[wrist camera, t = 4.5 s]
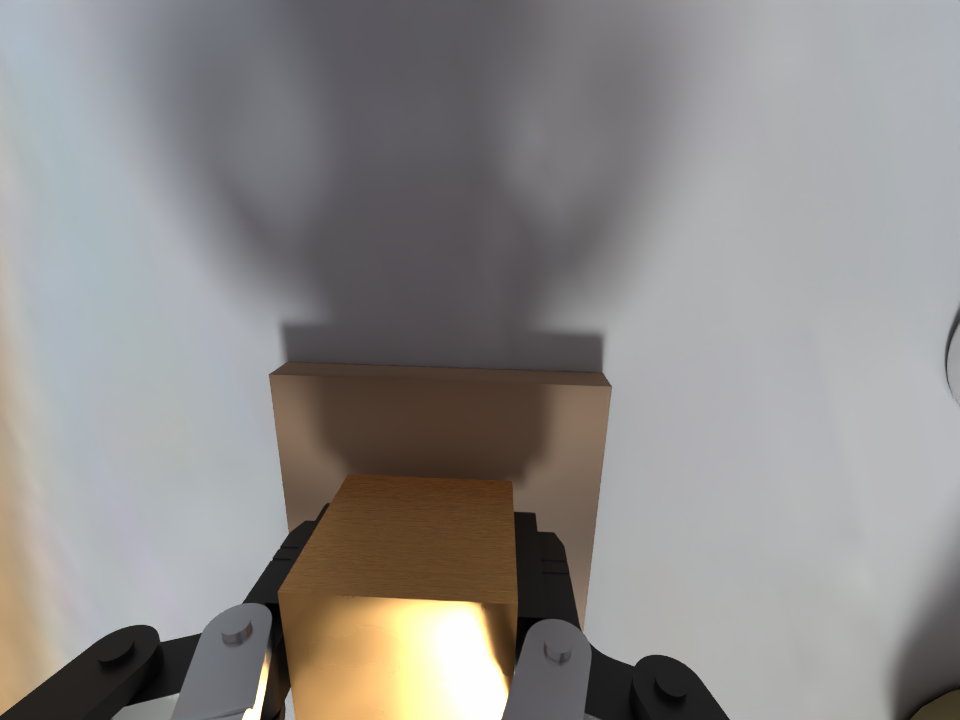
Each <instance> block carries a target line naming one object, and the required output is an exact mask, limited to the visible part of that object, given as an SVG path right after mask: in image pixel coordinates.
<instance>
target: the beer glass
mask: <svg viewBox="0 0 960 720" xmlns="http://www.w3.org/2000/svg"><path fill="white" fill-rule="evenodd" d="M947 374H948V381H949V385H950V389H951V392H952V394H953V396H954V398H955V400H956V402H957V403H958V405H959V406H960V321H959V322H958V325H957V327H956V329H955V331H954V334H953V337H952V340H951V343H950V347H949V352H948V359H947Z"/></svg>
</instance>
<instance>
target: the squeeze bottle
mask: <svg viewBox="0 0 960 720" xmlns="http://www.w3.org/2000/svg"><path fill="white" fill-rule="evenodd" d="M910 720H960V690H956V691H952V692H949V693H947V694H945V695H943V696H941V697H940V698H938V699H936V700H934V701H932V702H930V703H929V704H927V705H925V706H923V707H921V708H920V710H919V711H918V712H917V713H916V714H915V715H914V716H913V717H912V718H911V719H910Z"/></svg>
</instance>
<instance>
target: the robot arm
mask: <svg viewBox="0 0 960 720" xmlns="http://www.w3.org/2000/svg"><path fill="white" fill-rule="evenodd" d="M329 505H330V503H326V504H325V505H324V507H323V509H322V510H321V512H320V513H319V515H318V517H317V518H316V520H315V521H309V520H305V521H304V522H303V523H301V524H300V525H299V526H298V527H296V528H295V529H294V530H292V531H291V532H290V533H289V535H288V536H287V538H286V539H285V541H284V542H283V544H282V545H281V548H280V549H279V550H278V551H277V552H276V554H275V555H274V557H273V560H272V561H270V563H269V564H268V566H267V567H266V569H265V570H264V572H263V573H262V575H261V576H260V578H259V579H258V581H257V582H256V584H255V585H254V587H253V588H252V590H251V591H250V593H249V594H248V596H247V597H246V599H245V600H244V602H243V603H242V604H240V605H237V606H234V607H231V608H229V609H227V610H225V611H224V612H222V613H220V614H219V615H217V616H216V617H215V618H214V619H213V620H212V621H210V623H209V624H208V625H207V626H206V627H205V629H204V630H203V632H202V633H200V634H196V635H192V636H187V637H183V638H178V639H174V640H169V641H165V642H160V638H159V635H158V632H157V631H156V629H155V628H153V627H151V626H147V625H134V626H129V627H125V628H122V629H120V630H117V631H115V632H112V633H110V634H108V635H107V636H105V637H103V638H102V639H100V640H99V641H97V642H96V643H94V644H93V645H92V646H90V647H89V648H88V649H86V650H85V651H84V652H83V653H81V654H80V655H79V656H77V657H76V658H75V659H74V660H72V661H71V662H70V663H68V664H67V665H66V666H64V667H63V668H62V669H61V670H59V671H58V672H57V673H55V674H54V675H53V676H51V677H50V678H49V679H48V680H46V681H45V682H44V683H42V684H41V685H40V686H39V687H37V688H36V689H35V690H33V691H32V692H31V693H29V694H28V695H27V696H26V697H24V698H23V699H22V700H20V701H19V702H18V703H16V704H15V705H14V706H13V707H11V708H10V709H9V710H7V711H6V712H5V713H4V714H2V715H1V716H0V720H284V719H285V709H286V708H285V699H286V696H287V694H288V692H289V690H290V687H291V683H290V676H289V669H288V662H287V655H286V648H285V641H284V634H283V627H282V620H281V613H280V606H279V599H278V590H279V589H280V587H281V585H282V584H283V582H284V580H285V579H286V577H287V575H288V574H289V572H290V570H291V569H292V567H293V565H294V564H295V562H296V560H297V559H298V557H299V555H300V554H301V552H302V550H303V549H304V547H305V545H306V544H307V542H308V540H309V539H310V537H311V535H312V534H313V532H314V530H315V529H316V527H317V525H318V523H319V522H320V520H321V518H322V517H323V515H324V513H325V512H326V510H327V508H328V507H329ZM514 526H515V548H516V570H517V592H518V615H517V631H516V648H515V665H514V677H513V681H512V684H511V687H510V691H509V694H508V697H507V701H506V704H505V707H504V711H503V714H502V717H501V720H730V719H729V718H728V717H727V715H726V714H725V712H724V711H723V710H722V708H721V707H720V706H719V704H718V703H717V701H716V700H715V699H714V697H713V696H712V695H711V693H710V692H709V690H708V689H707V688H706V686H705V685H704V684H703V682H702V681H701V680H700V678H699V677H698V676H697V675H696V674H695V673H694V672H693V671H692V670H691V669H690V668H689V667H687V666H686V665H685V664H683V663H681V662H680V661H678V660H676V659H673V658H671V657H668V656H663V655H650V656H646V657H644V658H642V659H641V660H639V661H638V662H637V664H636V665H635V667H634V666H631V665H629V664H626V663H623V662H620V661H618V660H615V659H612V658H610V657H608V656H606V655H604V654H602V653H601V652H600V651H598V650H597V649H596V648H594V647H593V646H592V645H591V644H590V643H589V641H588V640H587V638H586V636H585V635H584V634H583V632H582V630H581V627H580V623H579V618H578V613H577V608H576V603H575V598H574V593H573V587H572V582H571V577H570V572H569V567H568V564H567V557H566V552H565V547H564V545H563V543H562V542H561V541H560V539H559V538H558V537H557V535H556V534H555V533H554V532H538V530H537V521H536V514H535V512H514Z"/></svg>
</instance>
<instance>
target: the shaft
mask: <svg viewBox="0 0 960 720" xmlns="http://www.w3.org/2000/svg"><path fill="white" fill-rule="evenodd" d="M278 599H279V606H280V613H281V620H282V627H283V634H284V641H285V648H286V655H287V662H288V669H289V676H290V683H291V691H292V698H293V705H294V712H295V719H296V720H501V717H502V714H503V711H504V707H505V704H506V701H507V697H508V694H509V691H510V687H511V684H512V681H513V677H514V665H515V648H516V631H517V615H518V592H517V570H516V548H515V526H514V504H513V483H512V481H499V480H475V479H452V478H429V477H405V476H382V475H359V474H348V475H347V477H346V478H345V480H344V482H343V483H342V485H341V487H340V488H339V490H338V492H337V493H336V495H335V497H334V498H333V500H332V502H331V503H330V505H329V507H328V508H327V510H326V512H325V513H324V515H323V517H322V518H321V520H320V522H319V523H318V525H317V527H316V529H315V530H314V532H313V534H312V535H311V537H310V539H309V540H308V542H307V544H306V545H305V547H304V549H303V550H302V552H301V554H300V555H299V557H298V559H297V560H296V562H295V564H294V565H293V567H292V569H291V570H290V572H289V574H288V575H287V577H286V579H285V580H284V582H283V584H282V585H281V587H280V589H279V590H278Z"/></svg>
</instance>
